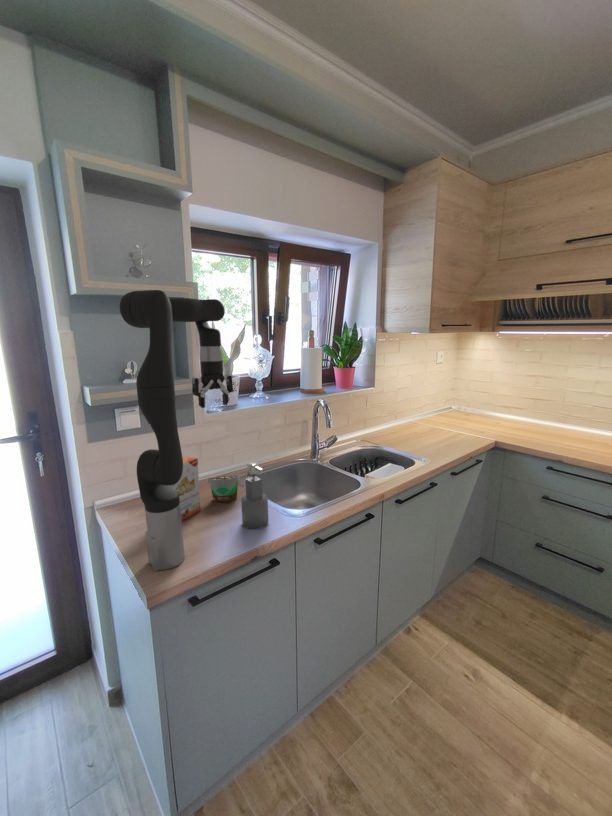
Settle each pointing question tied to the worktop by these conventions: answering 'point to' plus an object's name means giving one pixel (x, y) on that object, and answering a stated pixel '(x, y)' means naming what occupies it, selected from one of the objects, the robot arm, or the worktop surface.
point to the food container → (224, 488)
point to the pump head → (253, 470)
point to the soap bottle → (254, 505)
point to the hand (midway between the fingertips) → (214, 406)
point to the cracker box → (188, 488)
